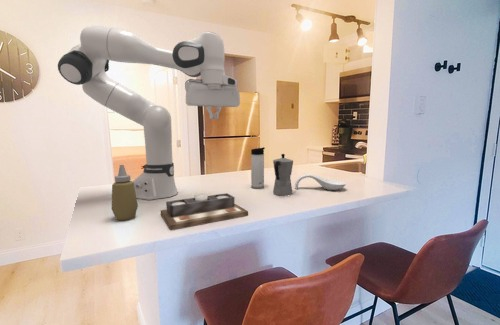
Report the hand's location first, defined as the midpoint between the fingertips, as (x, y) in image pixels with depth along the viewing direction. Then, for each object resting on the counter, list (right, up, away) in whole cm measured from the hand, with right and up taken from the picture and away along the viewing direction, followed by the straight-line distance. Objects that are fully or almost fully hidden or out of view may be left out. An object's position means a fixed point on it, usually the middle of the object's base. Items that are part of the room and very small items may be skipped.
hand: (214, 118), depth 99 cm
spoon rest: (+47, -29, +30) cm, 63 cm away
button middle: (-4, -31, -5) cm, 31 cm away
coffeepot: (+28, -31, +20) cm, 46 cm away
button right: (+3, -32, -1) cm, 32 cm away
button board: (-3, -34, -7) cm, 35 cm away
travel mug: (+17, -29, +33) cm, 47 cm away
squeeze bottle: (-29, -35, -9) cm, 46 cm away
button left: (-11, -33, -9) cm, 36 cm away
